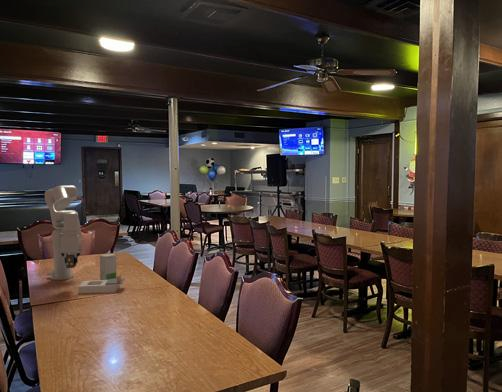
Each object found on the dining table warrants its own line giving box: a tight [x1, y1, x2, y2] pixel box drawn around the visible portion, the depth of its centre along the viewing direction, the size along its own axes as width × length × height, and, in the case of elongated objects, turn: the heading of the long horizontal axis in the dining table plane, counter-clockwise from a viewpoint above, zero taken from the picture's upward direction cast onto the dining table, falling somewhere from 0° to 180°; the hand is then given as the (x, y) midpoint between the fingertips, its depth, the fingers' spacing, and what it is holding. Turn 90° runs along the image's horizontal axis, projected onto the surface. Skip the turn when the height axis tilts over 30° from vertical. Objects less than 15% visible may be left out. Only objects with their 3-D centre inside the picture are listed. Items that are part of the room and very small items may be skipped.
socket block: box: [77, 279, 121, 295], centre depth 221 cm, size 20×12×4 cm, turn 99°
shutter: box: [105, 272, 126, 285], centre depth 222 cm, size 9×10×4 cm
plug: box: [66, 253, 77, 269], centre depth 224 cm, size 4×6×7 cm, turn 9°
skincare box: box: [99, 253, 118, 280], centre depth 243 cm, size 8×7×16 cm
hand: (71, 263), depth 225 cm, fingers closed on plug, 4 cm apart
